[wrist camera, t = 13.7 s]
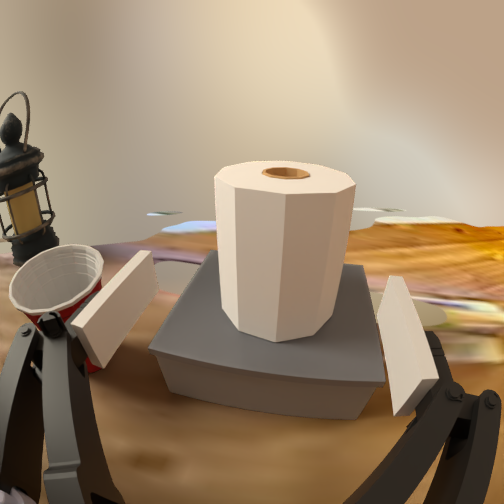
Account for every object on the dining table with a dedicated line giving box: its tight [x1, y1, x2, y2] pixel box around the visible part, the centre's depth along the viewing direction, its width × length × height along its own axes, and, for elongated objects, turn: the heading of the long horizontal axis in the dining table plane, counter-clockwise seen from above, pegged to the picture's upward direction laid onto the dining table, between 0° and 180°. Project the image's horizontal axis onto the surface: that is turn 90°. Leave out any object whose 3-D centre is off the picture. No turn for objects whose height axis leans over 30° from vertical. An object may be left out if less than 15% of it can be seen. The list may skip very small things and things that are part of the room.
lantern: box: [0, 91, 59, 267], centre depth 37 cm, size 14×13×35 cm
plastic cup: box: [9, 244, 104, 373], centre depth 24 cm, size 11×11×12 cm
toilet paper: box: [214, 161, 356, 342], centre depth 23 cm, size 10×10×12 cm
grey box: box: [148, 250, 386, 420], centre depth 28 cm, size 19×17×7 cm
